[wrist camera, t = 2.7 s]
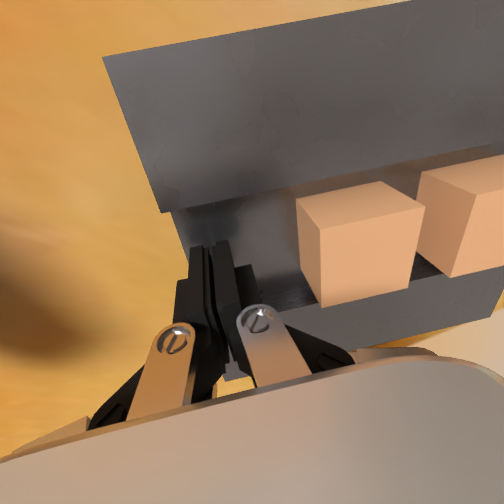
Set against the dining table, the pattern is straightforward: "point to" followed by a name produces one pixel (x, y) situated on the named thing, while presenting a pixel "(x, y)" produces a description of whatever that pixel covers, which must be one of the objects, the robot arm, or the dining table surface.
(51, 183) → the dining table surface
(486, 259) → the chip
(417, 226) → the chip
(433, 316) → the slot block
